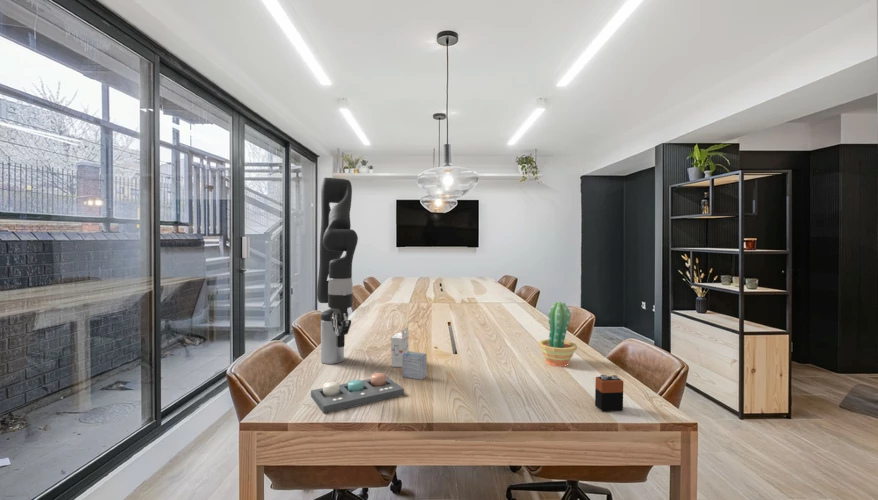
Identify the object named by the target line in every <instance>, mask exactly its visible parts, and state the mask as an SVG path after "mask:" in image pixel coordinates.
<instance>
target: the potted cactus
mask: <svg viewBox="0 0 878 500" xmlns="http://www.w3.org/2000/svg"><path fill="white" fill-rule="evenodd" d="M547 315H548V316H547V318H548V319H547V323H548V326H549V334H548V335H549V336H548V339H541V340H539V341H538V346H539V348H540V349H541V352H542V355H543V357H544V358H545V363H546V364H547V363H548V364H547V365H549V364H550V365H549V366H552V365H555V366H554V367H559V366H562V367H566V366H565V365H567V364H569V362H570V360H571V359H572V357H573V355H574V353H575V351H576V350H577V349H578V346H577V343H575V342H572V341H569V340H565V338H566V334H567V331H568V327H569V326H570V324H571V323H570V322H571V316H572V315H571V310H570V309H569V307H568V305H567V304H566V303H565V302H561V301H559V302H557V301H555V302H554V303H553V304H552V306H551V307H550V308H549V310H548V313H547ZM567 366H568V365H567Z"/></svg>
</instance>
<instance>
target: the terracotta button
mask: <svg viewBox="0 0 878 500" xmlns="http://www.w3.org/2000/svg"><path fill="white" fill-rule="evenodd" d="M386 376H387V375H386V373H382V372H376V373H372V374H371V375H370V379H371V386H372V387H379V386H383V385H386Z"/></svg>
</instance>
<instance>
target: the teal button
mask: <svg viewBox="0 0 878 500" xmlns="http://www.w3.org/2000/svg"><path fill="white" fill-rule="evenodd" d="M347 383H348V391H349V392H355V391H359V390H364V382H363V381H362V379H354V380H353V379H352V380H349V381H348V382H347Z"/></svg>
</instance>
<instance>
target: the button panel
mask: <svg viewBox="0 0 878 500" xmlns="http://www.w3.org/2000/svg"><path fill="white" fill-rule="evenodd" d="M361 381H363V382H364V390H359V391H355V392H349V391H348V382H347V383H342V384H341V383H340V393H339V395H335V396H330V397H325V396H323V387H321V388H317V389H311V390H310V397H311V399H312V400H313V401H314V402H315V404H316V406H318V408H319V409H320V411H321V412H322V413H323V414H326V413H330V412H335V411H338V410H344V409H347V408H352V407H356V406H361V405H364V404H370V403H374V402H378V401H382V400H383V401H384V400H387V399H392V398H397V397H400V396H401V397H402V396H404V395H405V388H403V386H401V385H400V384H398V383H397V382H395V381H394V380H393V379H391V378H390V377H388V376H387V375H386V385H383V386H379V387H373V386H371V378H368V379H363V380H362V379H361Z"/></svg>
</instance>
